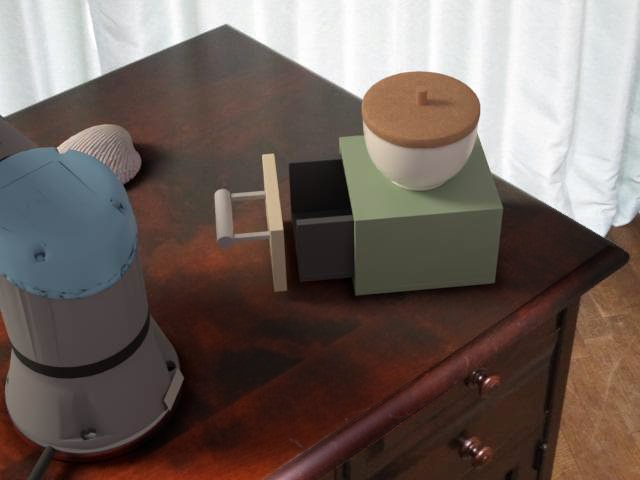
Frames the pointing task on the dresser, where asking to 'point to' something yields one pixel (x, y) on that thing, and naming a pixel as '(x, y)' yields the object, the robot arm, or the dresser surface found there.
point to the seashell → (107, 149)
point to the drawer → (300, 219)
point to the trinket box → (420, 127)
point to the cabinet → (421, 226)
